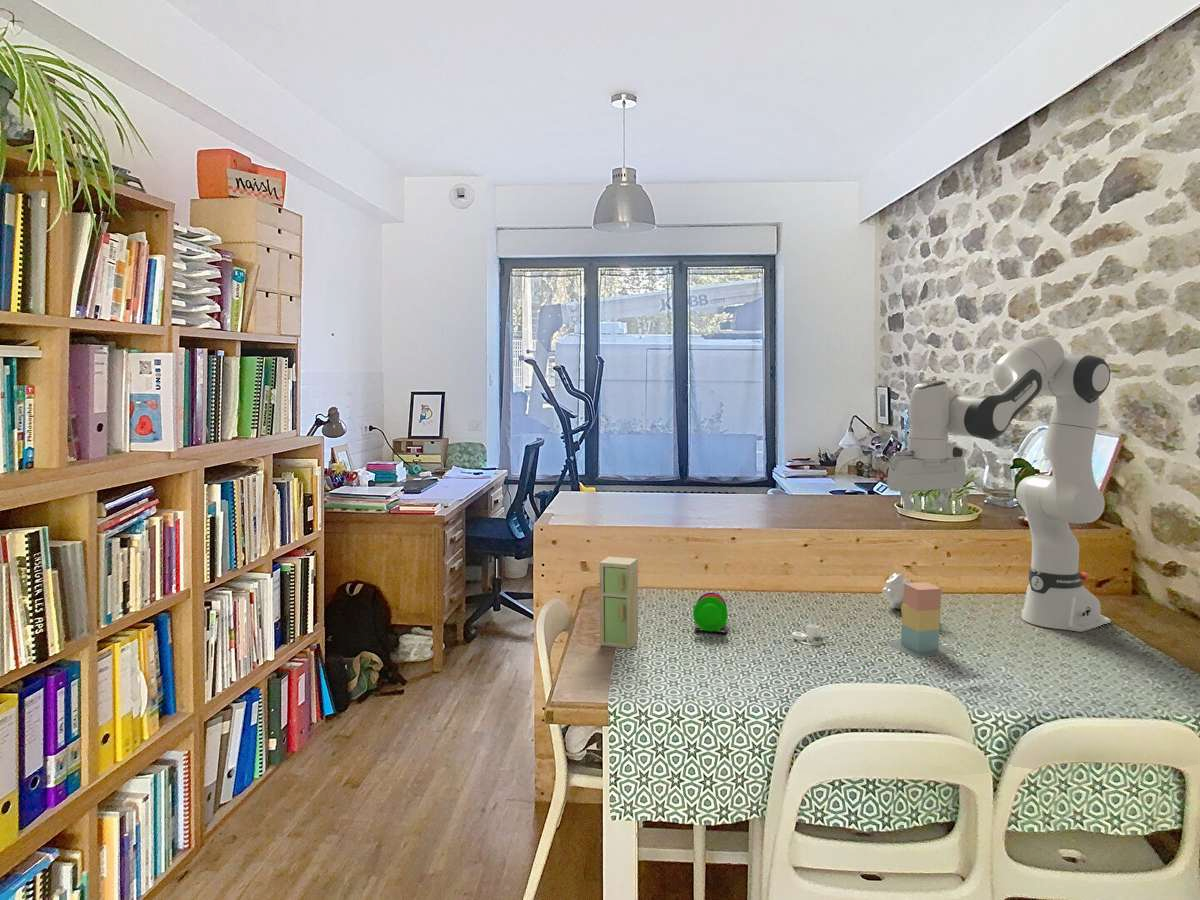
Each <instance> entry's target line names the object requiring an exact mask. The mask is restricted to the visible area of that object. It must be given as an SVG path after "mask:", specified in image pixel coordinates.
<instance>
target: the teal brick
mask: <svg viewBox="0 0 1200 900" xmlns="http://www.w3.org/2000/svg"><path fill="white" fill-rule="evenodd" d="M900 640H901V645H903V646H905V647H907V648H910V649H912V650H914V651H916V652H925V651H932V650H938V649H939V644H940V642H939V641H940V628H939V629H937V630H929V631H921V632H918V631H916V630H914V629H911V628H909V627H907V626H904V625H902V624H901V628H900Z"/></svg>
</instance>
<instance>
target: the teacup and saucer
mask: <svg viewBox="0 0 1200 900" xmlns="http://www.w3.org/2000/svg"><path fill="white" fill-rule="evenodd" d="M820 630H822V631H823V632H822V635H820ZM824 634H825V628H824V627H820V625H819V624H815V623H809V624H807V625H806V634H805V633H802V632H800V631H794V632H792V633H791V637H792V639H794V640H796V641H797V642H799V643H801V644H803V645H804V644H805V645H807V646H808V645H809V646H825V645H826V643H824V642H821V643H808V642H805V640H808V641H809V642H818V639H816V638H818V637H820V638H822V637H823V636H824Z"/></svg>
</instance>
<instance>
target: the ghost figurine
mask: <svg viewBox="0 0 1200 900" xmlns="http://www.w3.org/2000/svg"><path fill="white" fill-rule="evenodd" d="M904 583H914V582H913V581H912V580H910V579H908V578H905V577H904V575H903V574H901V573H893V574H891V575H890V576H889V578H888V579H886V581H885V583H884V584H885V587H883V588H882V591H881V594H882V597H884V598H886V600H887V601H888V604H890V605H891V607H893V608H896V609H898V610H901V607H902V605H903V602H904Z"/></svg>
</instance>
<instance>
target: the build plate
mask: <svg viewBox="0 0 1200 900" xmlns="http://www.w3.org/2000/svg"><path fill="white" fill-rule="evenodd" d="M882 643H883V644H885V645H888V646H889V647H892V648H893V649H896V650H898V651H900V652H902V653H905V654H907V655H909V656H911V657H913V658H916V659H921V658H928V657H934V656H940V655H947V654H948V655H949V654H956V653H957V650H953V649H952V648H949V647H947V646H945V645H942V644H941V643H939V649H938V650H932V651H925V652H916V651H914V650H912V649H910V648H907V647H905V646H903V645H901V639H895V640H888V641H882Z"/></svg>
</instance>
